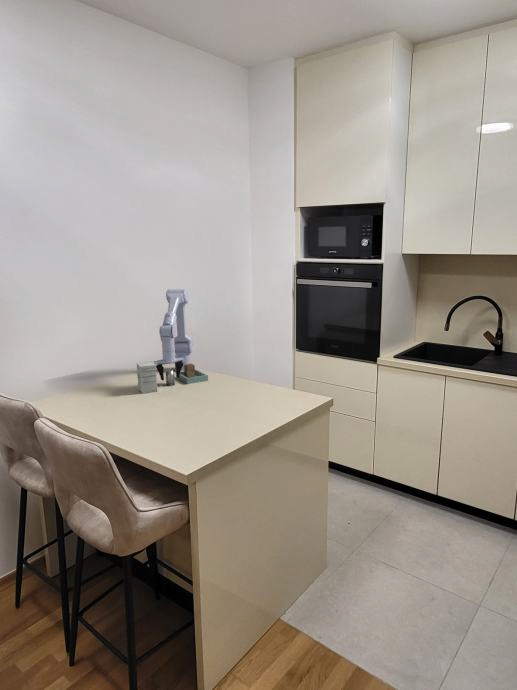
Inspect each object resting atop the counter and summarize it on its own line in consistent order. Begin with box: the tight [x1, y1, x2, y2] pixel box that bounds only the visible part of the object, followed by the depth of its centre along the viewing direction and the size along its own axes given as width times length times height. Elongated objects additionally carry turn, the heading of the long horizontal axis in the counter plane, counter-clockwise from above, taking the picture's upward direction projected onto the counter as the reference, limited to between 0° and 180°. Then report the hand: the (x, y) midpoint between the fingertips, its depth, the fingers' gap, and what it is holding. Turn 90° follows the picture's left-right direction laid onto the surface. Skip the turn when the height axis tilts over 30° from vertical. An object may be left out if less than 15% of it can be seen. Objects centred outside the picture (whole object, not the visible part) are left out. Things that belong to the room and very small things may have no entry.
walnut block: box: [184, 363, 196, 378], centre depth 235 cm, size 4×4×6 cm
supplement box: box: [136, 361, 158, 394], centre depth 215 cm, size 7×7×13 cm
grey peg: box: [164, 368, 176, 387], centre depth 224 cm, size 4×4×7 cm
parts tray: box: [175, 368, 209, 385], centre depth 233 cm, size 14×11×3 cm
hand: (170, 378), depth 224 cm, fingers open, 7 cm apart
